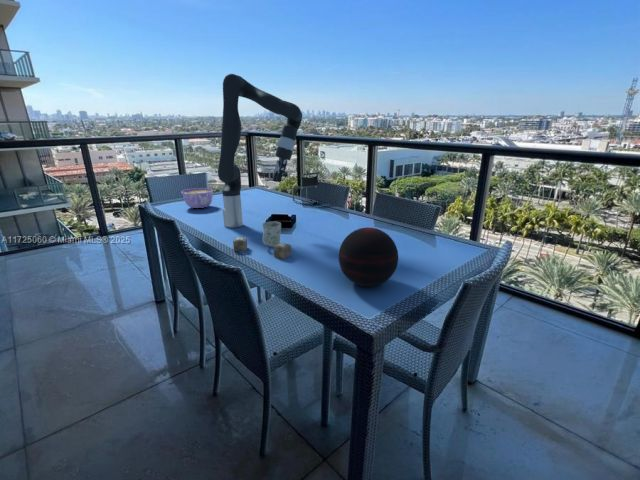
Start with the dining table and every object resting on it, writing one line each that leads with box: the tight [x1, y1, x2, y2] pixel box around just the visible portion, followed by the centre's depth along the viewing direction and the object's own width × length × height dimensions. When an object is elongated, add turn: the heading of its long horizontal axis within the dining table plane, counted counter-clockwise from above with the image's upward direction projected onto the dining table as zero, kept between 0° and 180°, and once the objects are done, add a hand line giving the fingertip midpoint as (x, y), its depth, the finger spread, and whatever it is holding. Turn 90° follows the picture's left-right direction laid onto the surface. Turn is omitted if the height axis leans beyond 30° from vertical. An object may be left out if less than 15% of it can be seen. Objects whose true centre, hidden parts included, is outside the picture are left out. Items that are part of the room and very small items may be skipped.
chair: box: [291, 171, 321, 206], centre depth 229 cm, size 13×17×22 cm
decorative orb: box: [338, 227, 399, 288], centre depth 111 cm, size 20×20×20 cm
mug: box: [262, 220, 282, 248], centre depth 148 cm, size 8×13×10 cm, turn 161°
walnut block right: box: [273, 242, 292, 260], centre depth 137 cm, size 5×5×5 cm
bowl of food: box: [181, 187, 214, 209], centre depth 217 cm, size 20×20×12 cm
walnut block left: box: [232, 236, 248, 253], centre depth 145 cm, size 5×5×5 cm
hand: (276, 181), depth 157 cm, fingers open, 8 cm apart
